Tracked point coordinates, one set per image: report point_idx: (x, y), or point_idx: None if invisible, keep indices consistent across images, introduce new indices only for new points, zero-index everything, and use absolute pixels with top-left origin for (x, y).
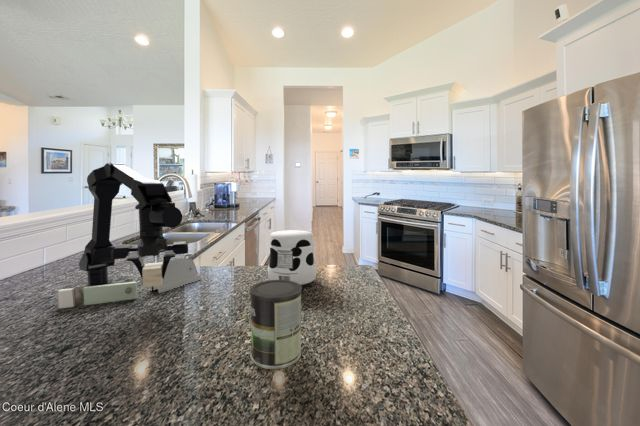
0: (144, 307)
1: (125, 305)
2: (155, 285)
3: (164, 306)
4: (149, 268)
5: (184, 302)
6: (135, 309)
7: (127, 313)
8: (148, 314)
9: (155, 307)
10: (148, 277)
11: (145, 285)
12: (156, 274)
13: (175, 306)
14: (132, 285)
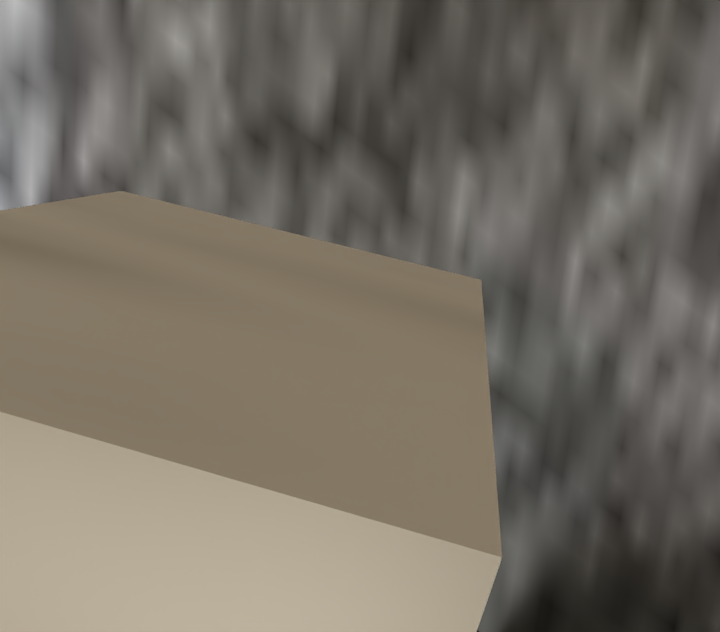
0: None
1: (633, 520)
2: (231, 220)
3: (253, 204)
4: (103, 558)
5: (43, 194)
6: (558, 317)
7: (663, 237)
8: (450, 34)
9: (348, 236)
10: (309, 317)
11: (428, 274)
12: (26, 269)
13: (140, 121)
14: None
